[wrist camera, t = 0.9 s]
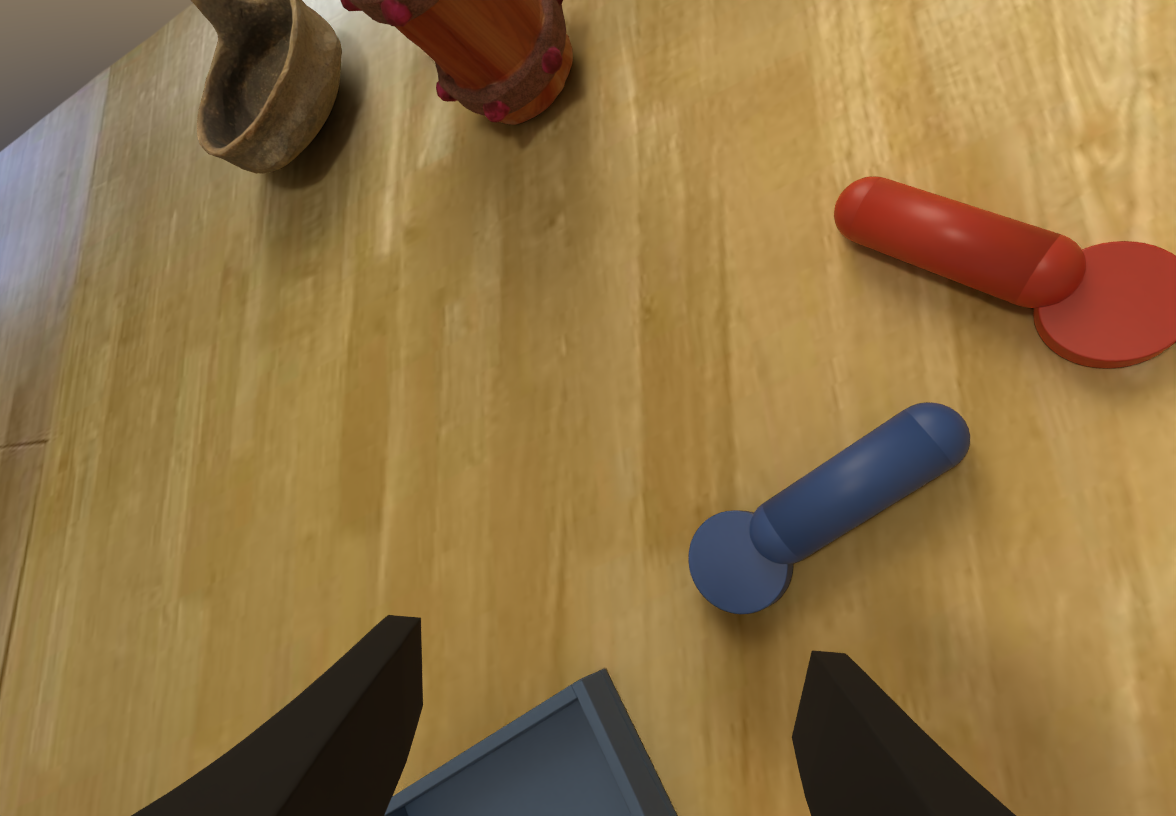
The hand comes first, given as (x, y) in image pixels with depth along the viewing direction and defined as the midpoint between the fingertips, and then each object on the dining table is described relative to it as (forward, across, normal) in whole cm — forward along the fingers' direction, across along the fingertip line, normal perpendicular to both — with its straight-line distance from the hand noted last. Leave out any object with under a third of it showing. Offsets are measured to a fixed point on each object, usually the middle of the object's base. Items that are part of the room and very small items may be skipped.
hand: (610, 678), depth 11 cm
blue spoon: (+14, -8, +4) cm, 16 cm away
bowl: (+45, +26, -15) cm, 54 cm away
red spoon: (+15, -14, -7) cm, 22 cm away
